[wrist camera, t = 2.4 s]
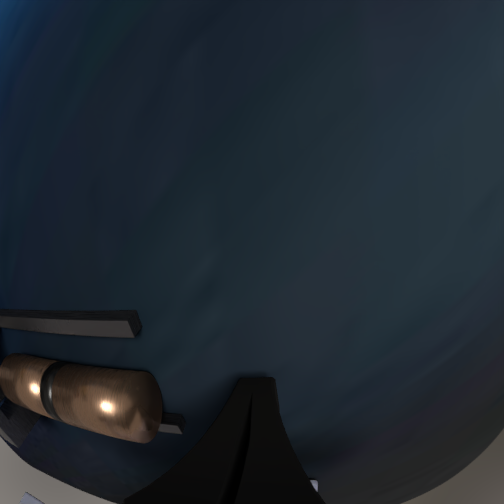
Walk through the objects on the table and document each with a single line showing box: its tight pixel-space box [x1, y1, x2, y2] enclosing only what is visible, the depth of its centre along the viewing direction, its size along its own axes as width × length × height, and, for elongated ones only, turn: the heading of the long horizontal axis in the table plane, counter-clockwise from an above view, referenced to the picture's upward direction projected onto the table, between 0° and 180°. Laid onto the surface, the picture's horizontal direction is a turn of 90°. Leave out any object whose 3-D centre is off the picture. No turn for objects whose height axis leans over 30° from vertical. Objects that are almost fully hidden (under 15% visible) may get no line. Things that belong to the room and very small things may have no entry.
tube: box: [0, 353, 162, 443], centre depth 12 cm, size 10×3×3 cm, turn 99°
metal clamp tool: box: [0, 309, 186, 448], centre depth 11 cm, size 9×20×5 cm, turn 99°
